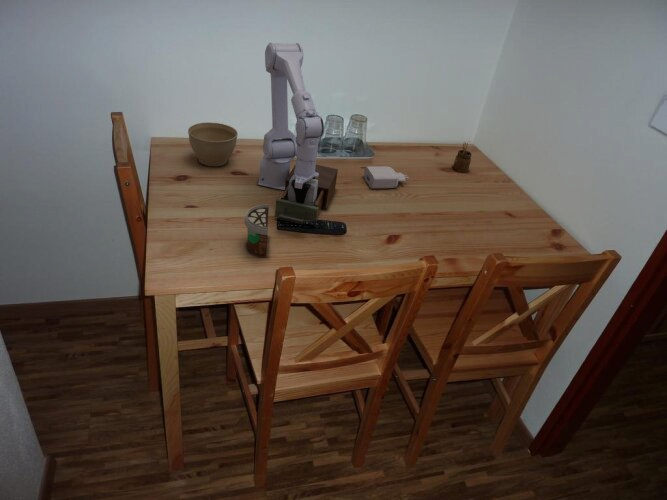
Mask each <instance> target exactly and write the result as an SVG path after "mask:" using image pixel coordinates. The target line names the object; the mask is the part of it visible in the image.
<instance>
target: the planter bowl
mask: <svg viewBox="0 0 667 500" xmlns="http://www.w3.org/2000/svg"><path fill="white" fill-rule="evenodd" d="M187 134H188V139H189V144H190V147H191V149H192V151H193V153H194V155H195V157H197V159H198V162H199V163H200V164H201V165H204V166H208V167H222V166H224V165H225V164H227V163H228V160H229V158H230V157H231V156H232V154H233V152H234V151H235V149H236V145H237V139H238V131H237V129H235V128H234V127H233V126H231V125H228V124H225V123H221V122H220V123H219V122H198V123H195V124H192V125H191V126H189V127H188V129H187Z"/></svg>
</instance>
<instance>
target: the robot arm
mask: <svg viewBox="0 0 667 500" xmlns="http://www.w3.org/2000/svg"><path fill="white" fill-rule="evenodd" d="M303 62H304V49H303V47H302V45H301V44H300V43H298V42H296V43H282V42H281V43H278V42H275V43H274V42H268V44H267V45H266V48H265V50H264V63H265V64H264V67H265V72H267V73H268V74H270V93H271V120H272V121H271V127H272V128H271V129H269V131H268V132H266V133H265V134H264V136H263V143H262V151H263V155H262V157H261V158H260V163H259V173H258V183H257V185H258V186H262V187H267V188H271V189H276V190H280V191H285V181H286V178H287V177H288V175H289V174H290V172H291V170H290V169H291V162H292V161H293V158H295V157H296V158H295V165H296V167H295V171H294V174H295V180H292V182H291V185H292V187H293V189H294V192H295V198H296V203H301V204H303V203H304V201H305V198H306V194H307V191H308V190H309V188H310V187H311V184H306V181H308V180H310V179H315V178H317V177H318V176H319V173H317V172H315V167H316V165H317V159H318V150H319V142H320V138H321V137H323V135H324V132H325V123H324V118H323V117H322V116H321V115H320V114H319V113H320V112H317V111H316V107H315V103H314V101H313V98H312V94H311V93H310V92H309V91H307V90H306V87H305V82H304V77H303V76H304V75H303V72H302V66H303ZM288 84H289V85H288ZM288 86H289V87H290V89H291V92H292V96H291V98H290V101H291V105H292V109H293V112H294V115H295V118H296V122H295V133H296V134H295V133H294V132H292V130H290V129H289V108H288V107H289V104H288V103H289V102H288V101H289V99H288Z"/></svg>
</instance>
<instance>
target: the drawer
mask: <svg viewBox="0 0 667 500" xmlns="http://www.w3.org/2000/svg"><path fill="white" fill-rule="evenodd" d="M288 191H289V185H288V187H287V188H286V190H284V192H282V194H281V196H280V198H278V197H277V198H276V199H275V209H274V210H275V211H274V218H277V219H278V220H281V221H285V222H290V223H294V224H298V225H304V220H313V221H317V222H318V216H319V214H320V212H321V210H322V209H321V207H322V205H323V202H324V195H325V190H321V189H317V196H316V203H315V205H314V206H310V205H306V204H301V203H296V202H292V201H288Z"/></svg>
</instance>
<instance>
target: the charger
mask: <svg viewBox="0 0 667 500" xmlns="http://www.w3.org/2000/svg"><path fill="white" fill-rule="evenodd" d="M363 179H364V181H365V182H366V184H367V185H368V186H369V188H370V189H396V188H397V187H398V185H399V183H402V182H403V183H404V182H406V180H407V179H408V180H409V179H410V177H409V176H408V174H403V172H396V171H395V170H394V168H392V167H391V166H388V165H387V166H385V165H384V166H373V165H371V166H368V165H367V166H364V171H363Z"/></svg>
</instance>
